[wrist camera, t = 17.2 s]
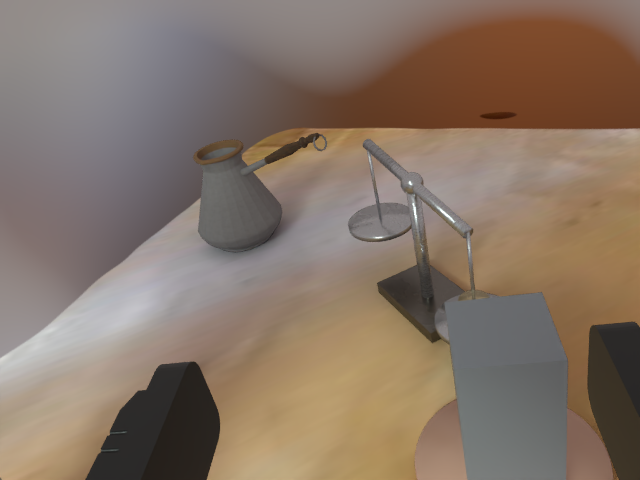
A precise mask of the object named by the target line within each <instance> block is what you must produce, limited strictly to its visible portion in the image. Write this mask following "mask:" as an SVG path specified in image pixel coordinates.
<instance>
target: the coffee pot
mask: <svg viewBox="0 0 640 480" xmlns="http://www.w3.org/2000/svg"><path fill="white" fill-rule="evenodd" d="M319 136H322V137H323V138H324V140H325V147H324V149H322V150H325V149H326V147H327V141H326V138H325V137H324V136H323V135H321V134H318V133H315V134H311V135H309V136H308V137H306V138H304V137H301V138H300V139H299V141H297V142H294V143H291V144H287V145H285V146H283V147H282V148H280V149H278V150H277V151H275V152H273V153H272V154H270V155H269V156H267V157H265V158H264V159H262V160H260V161H258V162H256V163H254V164H251V165H249V166H247V164H246V163H245V162H244V161H243V160H242V156H241V150H242V149H243V143H242V142H241V141H239V140H224V141H219V142H215V143H212V144H209V145H207V146H205V147H203V148H201V149H199V150H198V151H197V152H196V153H195V154H194V157H193V159H194V161H195V162H196V163H198V164H200V166H201V167H202V169H203V181H202V193H201V204H200V215H199V227H198V232H199V234H200V236H201V237H202V239H204V240H205V241H206V242H207V243H208V244H210V245H212V246H214V247H217V248H220V249H222V250H224V251H228V252H239V251H245V250H249V249H252V248H254V247H257V246H259V245H261V244H262V243H264V242H265V241H267V240H268V239H269V238H270V237H271V235H272V233H273V232H274V230H275V229H276V228H277V226H278V224H279V222H280V219H281V215H282V208H281V205H280V203H279V202H278V201H277V200H276V198H275V197H274V196H273V195H272V194H271V193H270V191H269V190H268V189H267V188H266V187H265V186H264V184H263V183H262V182H261V181H260V180H259V178H258V177H257V176H256V175H255V174H254V173H253V171H255V170H257V169H259V168H261V167H263V166H265V165H266V164H270V163H272V162H274V161H277V160H279V159H282V158H284V157H287V156H289V155H292V154H293V153H294V152H296V151H297V150H298V149H300V148H301V147H302V148H306V147H307V145H308V143H312V142H313V144H314V147H315V148H316V149H317V150H319V151H322V150H321V149H318V148H317V147H316V145H315V140H317V139H318V138H319Z"/></svg>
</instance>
